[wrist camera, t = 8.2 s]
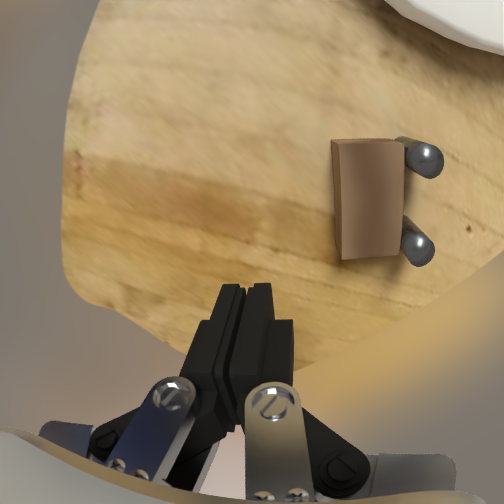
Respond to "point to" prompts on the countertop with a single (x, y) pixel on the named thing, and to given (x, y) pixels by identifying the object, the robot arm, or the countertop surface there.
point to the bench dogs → (429, 166)
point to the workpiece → (368, 196)
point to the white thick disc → (459, 20)
